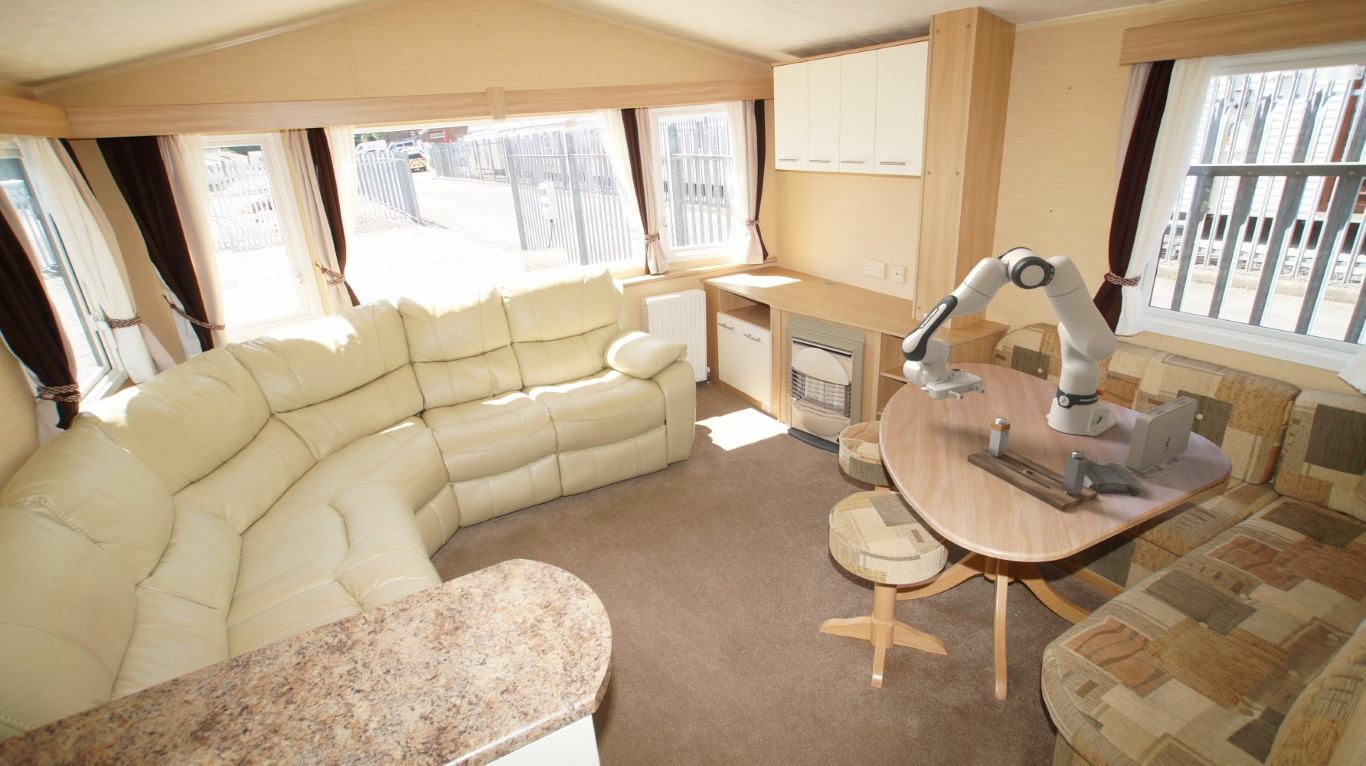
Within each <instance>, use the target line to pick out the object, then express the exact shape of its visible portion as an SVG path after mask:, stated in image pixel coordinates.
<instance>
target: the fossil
mask: <svg viewBox="0 0 1366 766" xmlns="http://www.w3.org/2000/svg"><path fill="white" fill-rule="evenodd" d="M1083 485H1084V486H1086V487H1088V488H1090V489H1092V490H1094V491H1096V492H1098V494H1105V495H1107V494H1108V495H1131V496H1134V497H1138V496H1139V495H1140V494H1141V492H1142V490H1143V485H1142V481H1141V480H1140V479H1139V478H1138V477H1137V476H1135V475H1134V473H1133V472H1130V471H1128V470H1127V469H1126V468H1124V467H1123V466H1122V465H1120V464H1118V463H1114V462H1109V463H1106V464H1099V463H1098V462H1095V461H1092V460H1090V459H1088V461H1087V467H1086V472H1085V477H1084V483H1083Z"/></svg>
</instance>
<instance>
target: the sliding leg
mask: <svg viewBox="0 0 1366 766" xmlns="http://www.w3.org/2000/svg"><path fill="white" fill-rule="evenodd" d="M990 425H991V426H990V428H991V430H990V436H989V437H990V438H989V446H988V449H989V453H991V454H993V455H995V456H997V457H999V456H1002V455H1005V454H1006V450H1007V449H1008V441H1009V435H1010V434H1009V432H1010V429H1011V423H1010V422H1008V419H1007V417H1003V416H997V417H996V419H995V420H993V421H992V420H991V424H990Z"/></svg>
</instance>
